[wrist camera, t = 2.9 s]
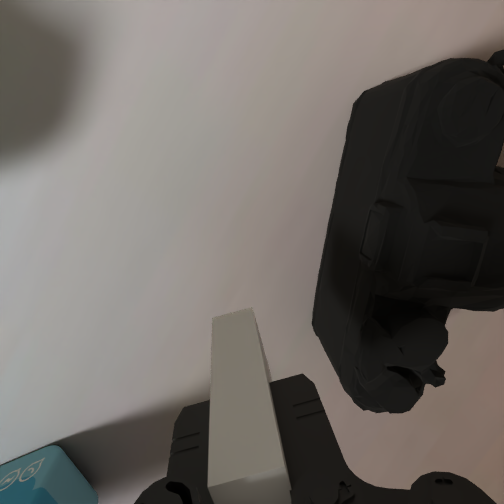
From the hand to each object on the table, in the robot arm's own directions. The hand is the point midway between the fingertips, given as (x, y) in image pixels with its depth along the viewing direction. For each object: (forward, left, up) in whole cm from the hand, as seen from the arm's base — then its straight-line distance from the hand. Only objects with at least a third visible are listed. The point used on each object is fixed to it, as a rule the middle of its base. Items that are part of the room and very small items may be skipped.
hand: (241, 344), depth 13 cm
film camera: (0, -10, -7) cm, 12 cm away
